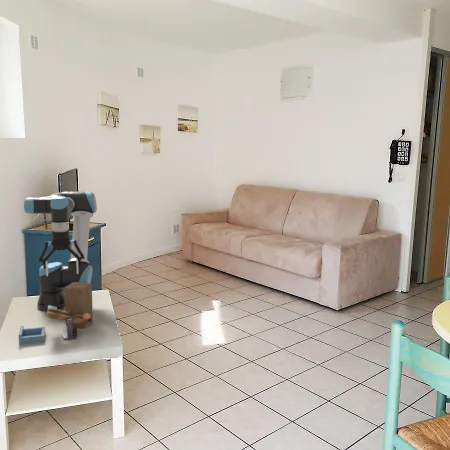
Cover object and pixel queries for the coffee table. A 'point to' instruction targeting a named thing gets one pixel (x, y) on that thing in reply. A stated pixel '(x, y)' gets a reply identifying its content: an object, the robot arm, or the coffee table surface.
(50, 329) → the coffee table surface
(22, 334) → the blue square tray
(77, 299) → the wooden block
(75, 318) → the lever
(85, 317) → the ball
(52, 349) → the coffee table surface
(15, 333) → the coffee table surface
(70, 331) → the fulcrum
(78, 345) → the coffee table surface
